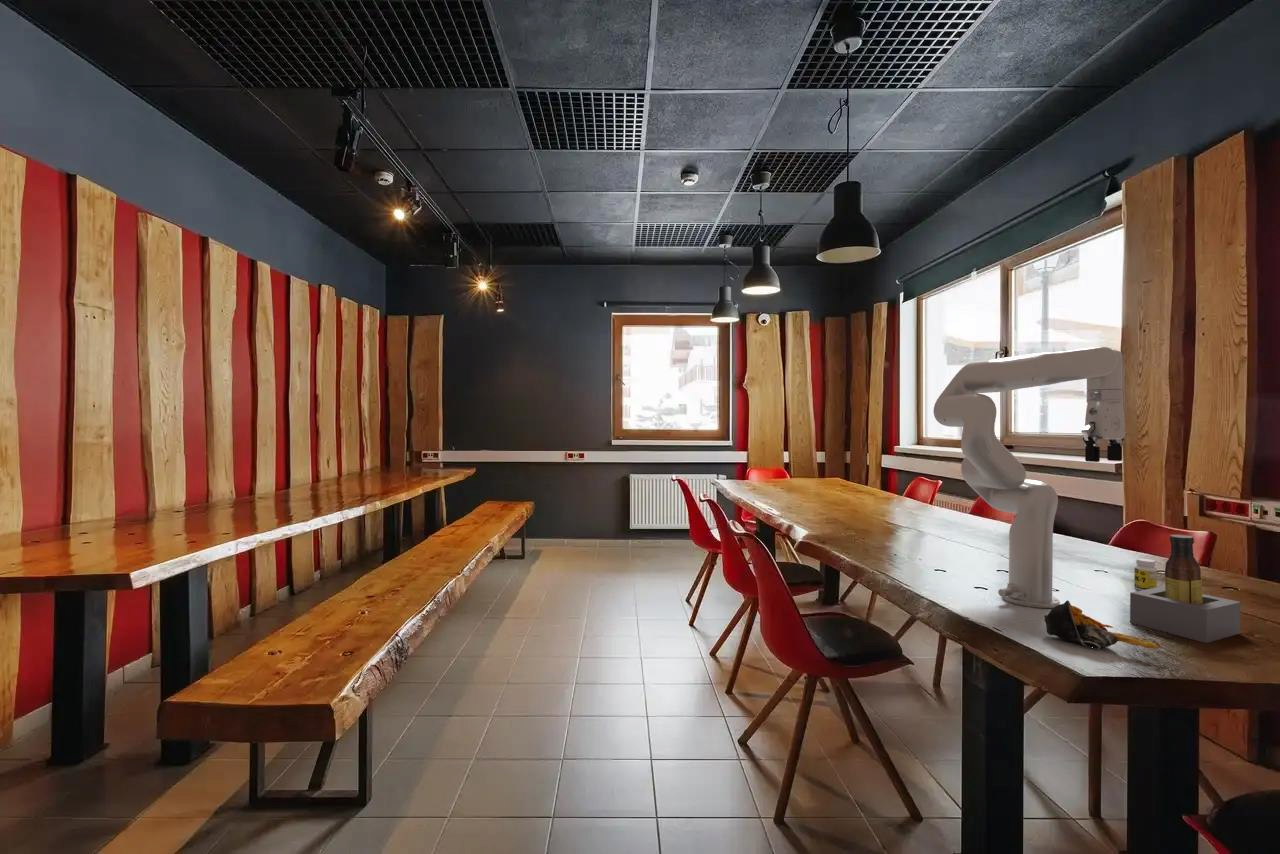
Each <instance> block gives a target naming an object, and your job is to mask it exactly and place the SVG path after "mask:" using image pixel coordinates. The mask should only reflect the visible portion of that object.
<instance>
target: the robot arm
mask: <svg viewBox="0 0 1280 854" xmlns="http://www.w3.org/2000/svg"><path fill="white" fill-rule="evenodd" d="M1123 362H1124V361H1123V353H1122V352H1121V351H1120V350H1115V349H1112V348H1110V347H1108V346H1097V347H1095V346H1094V347H1086V348H1080V349H1073V350H1066V351H1056V352H1055V351H1054V352H1041V353H1040V352H1039V353H1029V354H1025V355H1024V354H1023V355H1017V356H1009V357H1001V358H995V359H988V360H981V361H974V362H970V363H966V365H963V367H961V369H960V370H958V371H957V373H956V374H955V375H954V377H953V378H951V380H950V382H949V383H948V384H947V385H946V387H945V388H944V389H943V391H942V392H941V393H940V395H939V396H938V398H937V399H936V401H935V402H934V406H933V416H934V418H935V421H936V422H938V423H939V424H940V425H942V426H945V427H951V428H953V427H954V428H960V427H961V428H962V430H961V431H962V433H961V442H960V447H961V448H960V449H961V451H962V453H963V455H964V459H963V460H962V461H961V466H960V471H961V475H962V477H963V479H964V481H965V483H966V484H968V486H969V487H970V488H971V489H972V490H973V491H974V492H975V493H976V494H977V495H978V496H979V497H980V498H981V499H982V500H983V501H984V502H986V503H987V505H989V506H990V507H991V508H992V509H995V510H997V511H1000V512H1004V513H1009V514H1013V515H1016V516H1015V517H1014V519H1013V520H1012V522H1011V525H1010V528H1009V532H1008V583H1007V587H1005V588H1000V589H998V595H999V596H1000V597H1001V598H1002V599H1003V600H1005V601H1007V602H1009V603H1012V604H1014V603H1015V605H1017V606H1018V605H1020V606H1024V607H1029V608H1030V607H1031V608H1038V609H1053V608H1054V607H1055V606H1057V605H1060V603H1061V602H1060V599H1059V598H1057V597H1055V596H1053V570H1054V569H1053V567H1054V566H1053V564H1054V563H1053V557H1054V556H1053V555H1054V554H1053V553H1054V547H1053V545H1054V541H1053V540H1054V539H1053V537H1054V522H1055V517H1056V514H1057V509H1058V506H1059V505H1058V504H1059V499H1058V498H1059V497H1058V494H1057V491H1056V490H1055V488H1053V487H1052V485H1050V484H1048V483H1046V482H1044V481H1041V480H1036V479H1029V478H1028V479H1026V478H1027V471H1026V469H1025V467H1024V465H1023V464H1022V463H1021V462H1020V461H1019V459H1018V458H1017V457H1015V455H1013V453H1012V452H1011V451H1010V450H1009V449H1008V448H1007V447H1006V446H1004V444H1003V443H1002V442H1001V441H1000V440H999V439H998V437H997V436H996V433H995V427H996V426H995V425H996V420H997V407H996V406H997V405H996V403H995V401H994V400H993V399H992V398H991V397H990V396H988V395H986V394H987V393H1003V392H1008V391H1015V390H1021V389H1028V388H1035V387H1036V388H1037V387H1041V386H1043V387H1044V386H1050V385H1055V384H1061V383H1066V382H1072V381H1079V380H1085V379H1086V404H1087V405H1086V411H1085V420H1084V422H1085V423H1084V427H1083V428H1082V429H1081V435H1082V441H1083V445H1084V447H1085V448H1084V451H1085V452H1084V455H1085V456H1084V460H1085V462H1089V463H1090V462H1091V463H1092V462H1093V463H1099V462H1100V461H1101V459H1100V457H1101V450H1100V449H1101V447H1100V446H1099V444H1100V443H1101V441H1102V440H1106V441H1107V444H1108V445H1107V449H1106V451H1107V455H1106V457H1107V458H1106V459H1107V461H1114V462H1115V461H1116V462H1122V459H1123V445H1124V440H1125V437H1126V421H1125V410H1124V409H1125V408H1124V405H1123ZM985 393H986V394H985Z"/></svg>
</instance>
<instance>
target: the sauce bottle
mask: <svg viewBox="0 0 1280 854" xmlns="http://www.w3.org/2000/svg"><path fill="white" fill-rule="evenodd" d="M1169 542H1170V555H1169V557H1168V559H1167V561H1166V562H1165V569H1164V583H1165V585H1164V586H1165V592H1166V598H1168V599H1173V600H1177V601H1181V602H1186V603H1190V604H1195V605H1202V604H1203V601H1202V594H1203V581H1202V580H1203V579H1202V575H1201V574H1202V573H1201V565H1200V564H1199V562H1198V561H1197V560H1196V558H1195V556H1194V555H1195V554H1194V546H1193V544H1194V543H1195V539H1194V536H1192V535H1183V534H1170V535H1169Z"/></svg>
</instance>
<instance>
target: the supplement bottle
mask: <svg viewBox="0 0 1280 854" xmlns="http://www.w3.org/2000/svg"><path fill="white" fill-rule="evenodd" d="M1135 561H1136V563H1135V564H1136V565H1134V574H1133V575H1134V576H1133V577H1134V581H1133V582H1134V587H1133V588H1134V589H1135V590H1136V591H1141V590H1146V589H1151V588H1156V587H1158V586H1157V584H1158V578H1157V577H1158V575H1157V574H1158V570H1157V568H1156V560H1153V559H1149V558H1141V557H1140V558H1136V560H1135Z"/></svg>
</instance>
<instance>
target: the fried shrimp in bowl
mask: <svg viewBox="0 0 1280 854" xmlns="http://www.w3.org/2000/svg"><path fill="white" fill-rule="evenodd" d="M1050 609H1051V610H1050V611H1049V612H1048V614H1045V615H1043V618H1044V620H1043V621H1044V623H1045V628H1046V633H1047V634H1048V635H1049V636H1055V637H1058V638H1059V639H1061V640H1063V641H1067V642H1070V641H1071V642H1073V643H1078V644H1081V645H1083V646H1085V647H1087V646H1088V647H1087V648H1089V647H1093V648H1096V649H1095V650H1100V649H1101V648H1108V647H1111V646H1113V645H1115V644H1117V642H1122V643H1125V644H1129V645H1132V646H1139V647H1143V648H1145V649H1160V648H1161V643H1160V642H1158V641H1156V640H1154V639H1151V638H1149V639H1147V638H1145V637H1144V638H1143V637H1141V636H1140V637H1139V636H1134V635H1128V634H1122V633H1117V632H1112V631H1110V630H1109V631H1108V629H1107V628H1110V629H1111V628H1114V627H1113V626H1112V625H1109V624H1104V623H1102V622H1099V620H1095V618H1092V617H1090V616H1087V615H1086V614H1083V610H1082V609H1081V608H1080V607H1078V606H1074V605H1072V604H1071V602H1070V600H1066V601H1065V602H1064V603H1061V604H1060V605H1057V606H1055V607H1054V608H1050ZM1093 648H1092V649H1093Z"/></svg>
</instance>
